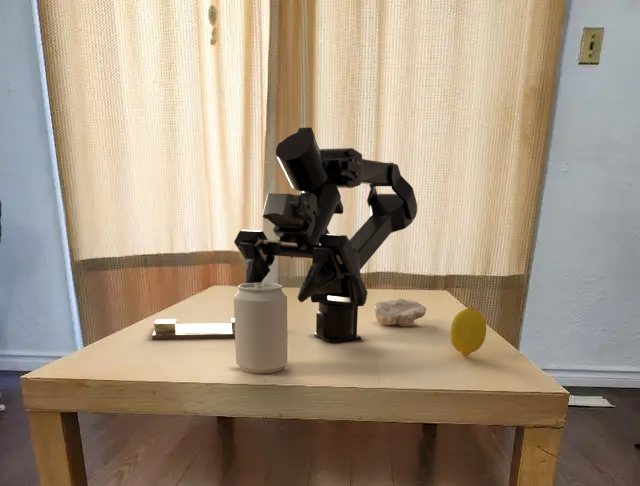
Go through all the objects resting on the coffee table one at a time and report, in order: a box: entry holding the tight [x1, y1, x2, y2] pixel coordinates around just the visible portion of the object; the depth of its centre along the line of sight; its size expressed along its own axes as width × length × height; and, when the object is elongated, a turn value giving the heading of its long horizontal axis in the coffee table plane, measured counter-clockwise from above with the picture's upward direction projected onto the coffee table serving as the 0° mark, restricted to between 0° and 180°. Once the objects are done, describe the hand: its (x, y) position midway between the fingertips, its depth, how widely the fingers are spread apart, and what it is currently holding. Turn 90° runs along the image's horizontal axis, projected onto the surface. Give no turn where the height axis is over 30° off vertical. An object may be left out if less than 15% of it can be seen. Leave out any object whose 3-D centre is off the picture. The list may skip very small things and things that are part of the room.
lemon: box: [449, 305, 487, 357], centre depth 91 cm, size 6×6×8 cm
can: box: [233, 282, 288, 374], centre depth 82 cm, size 8×8×12 cm
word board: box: [151, 317, 235, 341], centre depth 105 cm, size 22×9×2 cm, turn 99°
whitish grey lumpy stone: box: [374, 298, 427, 327], centre depth 115 cm, size 9×6×10 cm
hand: (272, 297), depth 83 cm, fingers open, 9 cm apart
